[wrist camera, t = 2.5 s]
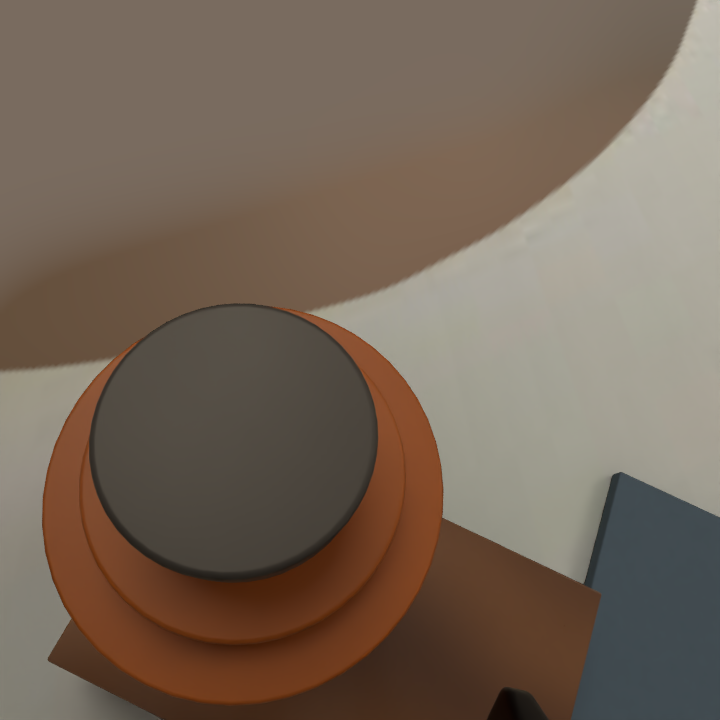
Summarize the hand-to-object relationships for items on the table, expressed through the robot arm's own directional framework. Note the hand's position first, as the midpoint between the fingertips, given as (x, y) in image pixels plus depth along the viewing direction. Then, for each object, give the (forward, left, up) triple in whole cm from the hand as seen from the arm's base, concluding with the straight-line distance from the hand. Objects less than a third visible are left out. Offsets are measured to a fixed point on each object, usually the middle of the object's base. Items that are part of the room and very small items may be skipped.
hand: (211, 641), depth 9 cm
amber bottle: (+2, 0, -7) cm, 7 cm away
